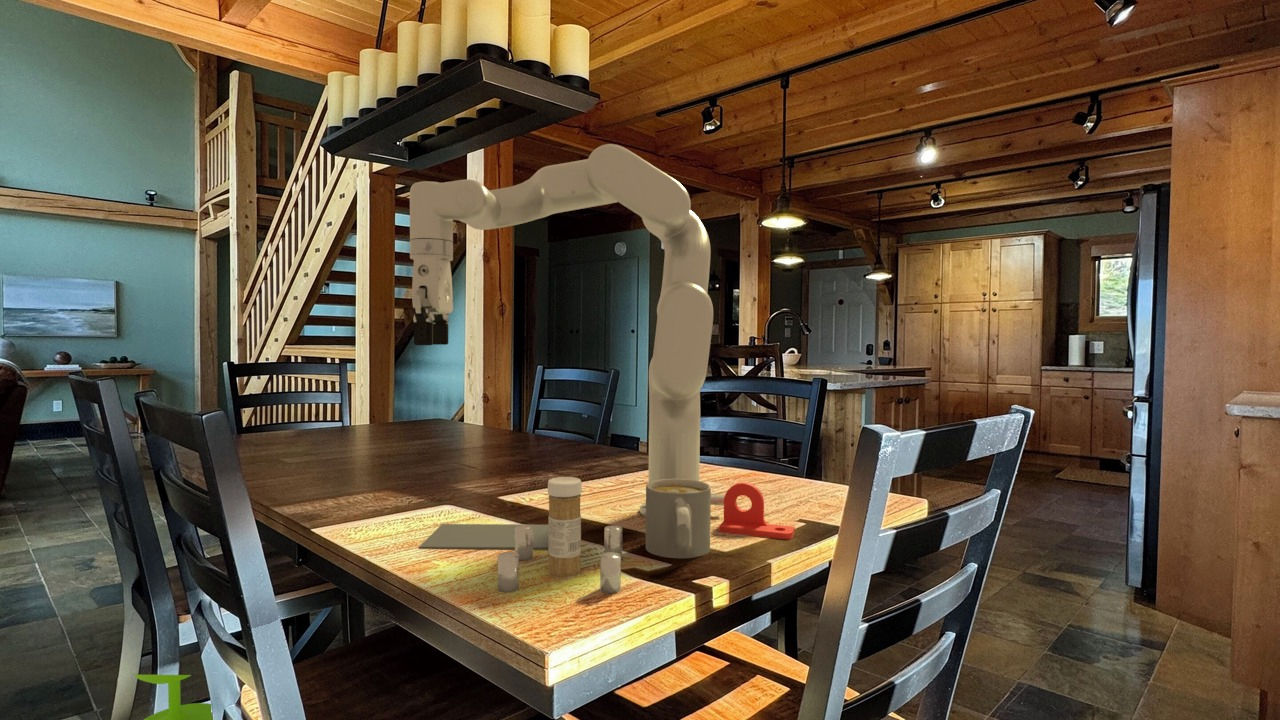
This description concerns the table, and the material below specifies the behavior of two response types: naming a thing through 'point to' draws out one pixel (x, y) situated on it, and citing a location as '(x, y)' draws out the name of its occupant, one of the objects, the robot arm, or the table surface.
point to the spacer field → (524, 552)
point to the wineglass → (177, 700)
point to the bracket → (750, 515)
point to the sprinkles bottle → (564, 527)
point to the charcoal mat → (482, 537)
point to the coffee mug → (678, 518)
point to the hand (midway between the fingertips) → (431, 344)
